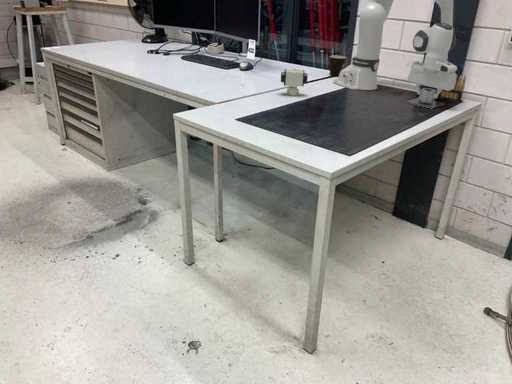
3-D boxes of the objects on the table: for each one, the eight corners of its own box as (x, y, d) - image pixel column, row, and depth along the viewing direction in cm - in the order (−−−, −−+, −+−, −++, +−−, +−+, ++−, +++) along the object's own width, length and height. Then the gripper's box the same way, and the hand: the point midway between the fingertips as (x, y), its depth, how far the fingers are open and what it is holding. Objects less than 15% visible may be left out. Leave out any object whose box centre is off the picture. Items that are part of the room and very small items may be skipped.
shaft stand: (406, 103, 185) (408, 91, 182) (419, 98, 192) (422, 87, 190) (431, 109, 177) (434, 97, 175) (444, 105, 185) (447, 93, 182)
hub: (416, 100, 185) (418, 89, 182) (423, 98, 188) (425, 87, 186) (429, 103, 181) (431, 92, 178) (435, 101, 184) (438, 90, 182)
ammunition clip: (435, 98, 194) (442, 72, 189) (436, 97, 196) (443, 71, 190) (459, 102, 189) (467, 76, 184) (460, 101, 191) (468, 75, 185)
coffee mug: (334, 73, 234) (336, 54, 229) (346, 76, 228) (349, 57, 224) (320, 75, 227) (322, 56, 223) (332, 78, 222) (335, 59, 217)
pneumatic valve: (305, 96, 188) (308, 70, 182) (280, 95, 188) (281, 68, 182) (304, 93, 192) (307, 67, 187) (279, 92, 192) (281, 66, 187)
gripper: (408, 60, 181) (402, 92, 188) (454, 69, 168) (445, 102, 175) (416, 59, 185) (409, 90, 192) (461, 67, 172) (452, 100, 179)
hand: (427, 96), depth 183 cm, fingers closed on hub, 6 cm apart
